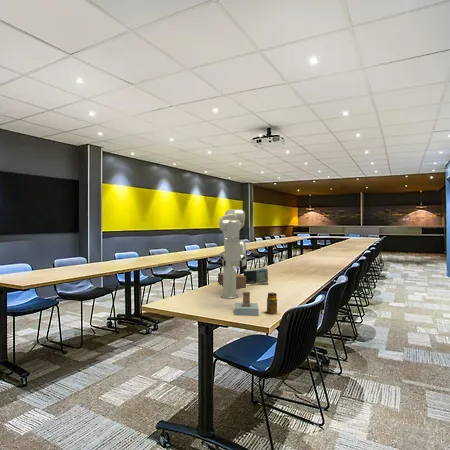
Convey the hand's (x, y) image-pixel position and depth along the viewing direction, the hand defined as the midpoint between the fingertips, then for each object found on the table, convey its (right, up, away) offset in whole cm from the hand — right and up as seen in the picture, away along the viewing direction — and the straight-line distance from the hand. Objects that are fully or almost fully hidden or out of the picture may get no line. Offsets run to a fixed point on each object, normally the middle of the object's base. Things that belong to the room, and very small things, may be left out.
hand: (232, 267), depth 213 cm
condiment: (+23, -27, -10) cm, 36 cm away
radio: (+22, -26, +82) cm, 89 cm away
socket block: (+8, -26, -9) cm, 29 cm away
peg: (+8, -26, -9) cm, 29 cm away
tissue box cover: (+1, -26, +72) cm, 77 cm away
